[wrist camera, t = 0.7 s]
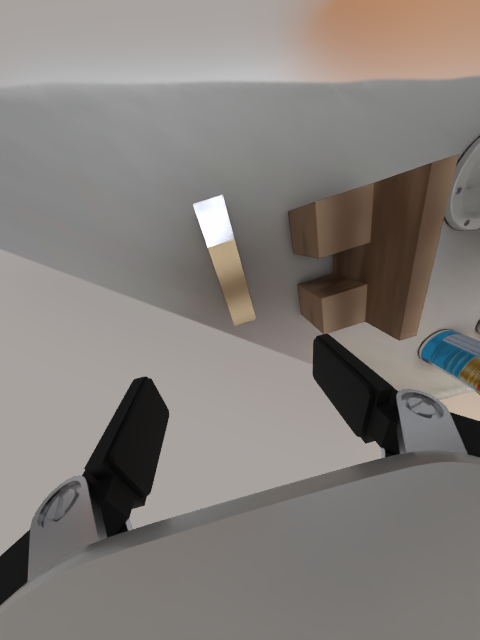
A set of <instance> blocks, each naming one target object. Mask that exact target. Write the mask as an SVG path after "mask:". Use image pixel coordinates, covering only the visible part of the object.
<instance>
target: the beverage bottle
mask: <svg viewBox="0 0 480 640" xmlns="http://www.w3.org/2000/svg"><path fill="white" fill-rule="evenodd" d="M419 356H420V358H421V359H422V360H424V361H425V362H427V363H429V364H431V365H433V366H435V367H437V368H438V369H440V370H442V371H444V372H445V373H447V374H449V375H450V376H452V377H454V378H455V379H457V380H459V381H460V382H462V383H464V384H465V385H467V386H469V387H470V388H472V389H474V390H475V391H476V392H477V393H478V394H480V341H477V340H475V339H472V338H469V337H467V336H464V335H462V334H460V333H457V332H455V331H452V330H443V331H439V332H437V333H435V334H433V335H431V336H430V337H429V338H428V339H426V340H425V342H424V343H423V344H422V346H421V347H420V350H419Z"/></svg>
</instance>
